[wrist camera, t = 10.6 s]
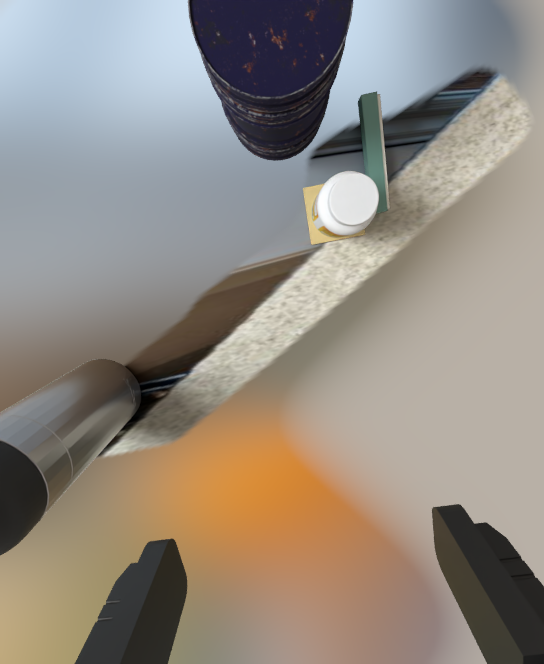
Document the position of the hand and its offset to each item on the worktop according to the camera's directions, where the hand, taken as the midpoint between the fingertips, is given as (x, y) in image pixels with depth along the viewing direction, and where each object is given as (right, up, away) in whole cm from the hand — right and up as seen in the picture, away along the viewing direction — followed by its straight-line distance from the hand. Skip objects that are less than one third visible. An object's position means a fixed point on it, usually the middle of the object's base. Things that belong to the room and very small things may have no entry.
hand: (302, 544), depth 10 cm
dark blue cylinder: (0, +30, +23) cm, 38 cm away
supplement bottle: (+6, +20, +26) cm, 33 cm away
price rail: (+10, +25, +24) cm, 36 cm away
